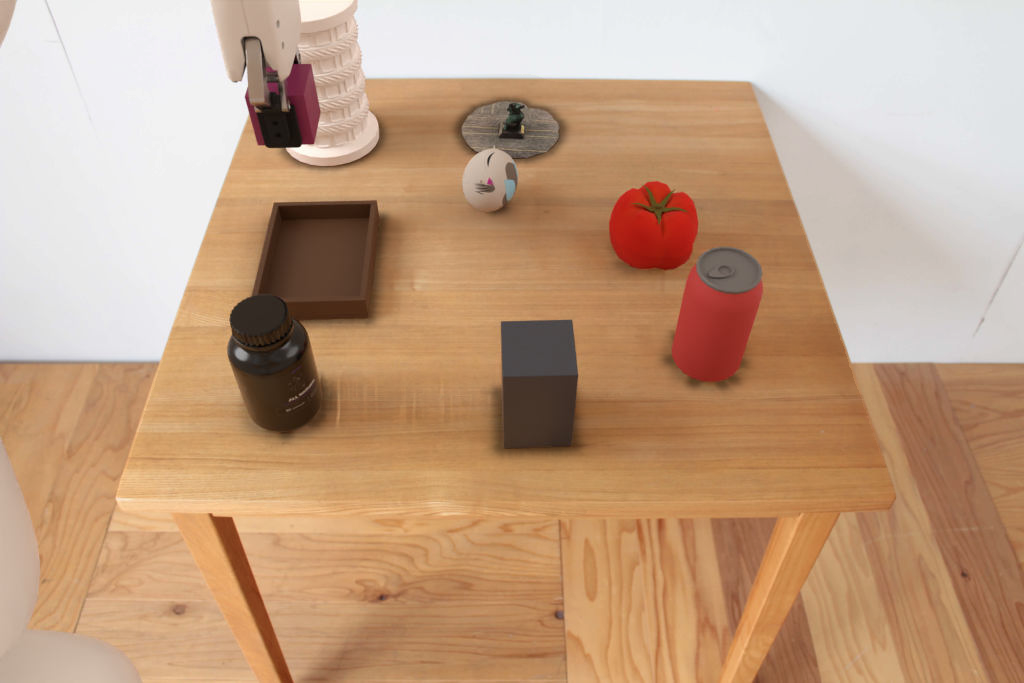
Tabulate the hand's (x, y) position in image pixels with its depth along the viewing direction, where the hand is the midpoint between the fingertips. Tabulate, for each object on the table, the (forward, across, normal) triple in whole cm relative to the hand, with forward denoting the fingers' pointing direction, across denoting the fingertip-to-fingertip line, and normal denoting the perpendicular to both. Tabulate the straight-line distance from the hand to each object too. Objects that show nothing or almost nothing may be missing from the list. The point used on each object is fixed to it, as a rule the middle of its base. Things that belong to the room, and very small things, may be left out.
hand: (288, 124), depth 77 cm
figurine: (+18, -9, +18) cm, 27 cm away
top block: (0, 0, 0) cm, 0 cm away
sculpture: (+18, -24, +21) cm, 36 cm away
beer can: (+18, +14, +38) cm, 44 cm away
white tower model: (+18, -23, -1) cm, 29 cm away
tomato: (+18, 0, +35) cm, 39 cm away
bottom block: (+17, +21, +22) cm, 35 cm away
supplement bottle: (+18, +18, -1) cm, 25 cm away
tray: (+18, 0, 0) cm, 18 cm away
